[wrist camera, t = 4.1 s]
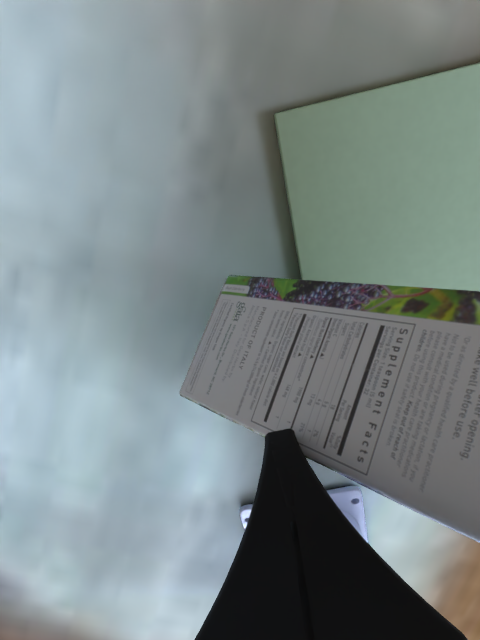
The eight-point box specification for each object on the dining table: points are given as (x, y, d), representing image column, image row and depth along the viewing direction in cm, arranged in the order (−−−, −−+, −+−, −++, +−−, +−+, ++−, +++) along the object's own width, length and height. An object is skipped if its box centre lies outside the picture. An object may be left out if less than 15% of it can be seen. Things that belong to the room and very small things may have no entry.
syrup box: (298, 323, 21) (721, 386, 11) (259, 430, 20) (684, 624, 9) (224, 272, 18) (749, 290, 7) (171, 399, 17) (695, 658, 6)
